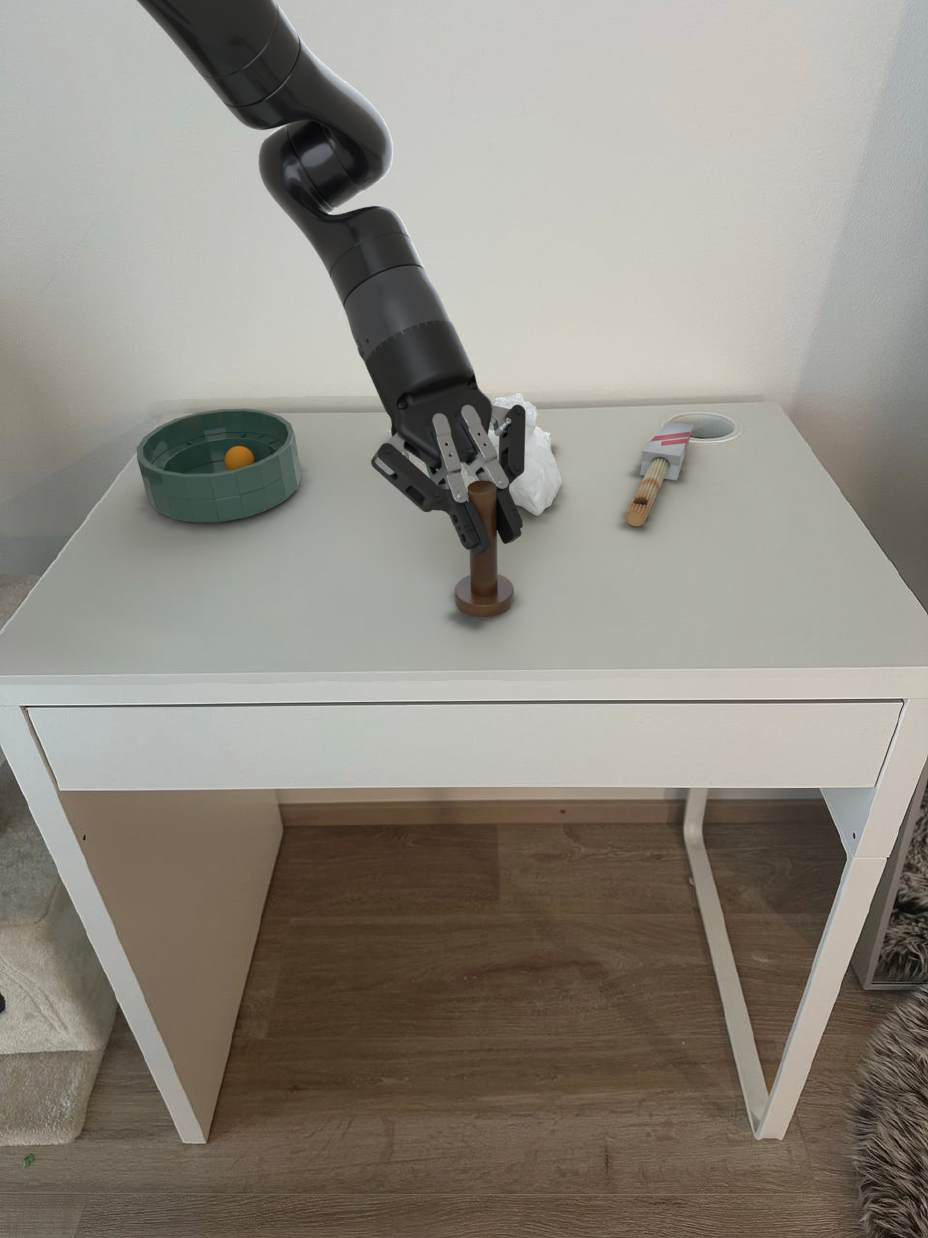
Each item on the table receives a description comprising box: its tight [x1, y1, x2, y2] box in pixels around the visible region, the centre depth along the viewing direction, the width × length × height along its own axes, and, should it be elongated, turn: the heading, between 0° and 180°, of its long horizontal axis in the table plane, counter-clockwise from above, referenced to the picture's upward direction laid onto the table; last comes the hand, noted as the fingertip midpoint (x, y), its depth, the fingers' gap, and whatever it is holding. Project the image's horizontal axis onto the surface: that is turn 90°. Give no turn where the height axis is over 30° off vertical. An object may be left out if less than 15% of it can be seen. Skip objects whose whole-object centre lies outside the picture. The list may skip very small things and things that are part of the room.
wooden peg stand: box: [454, 480, 515, 619], centre depth 74 cm, size 5×5×10 cm
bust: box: [489, 392, 563, 516], centre depth 90 cm, size 12×8×11 cm
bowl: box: [136, 408, 302, 523], centre depth 94 cm, size 15×15×6 cm
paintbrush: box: [625, 421, 694, 527], centre depth 93 cm, size 4×3×20 cm
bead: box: [225, 446, 255, 470], centre depth 96 cm, size 3×3×3 cm
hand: (498, 544), depth 71 cm, fingers closed on wooden peg stand
